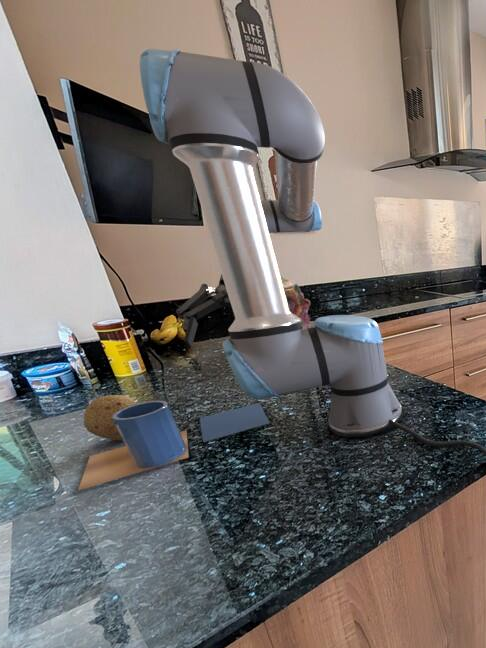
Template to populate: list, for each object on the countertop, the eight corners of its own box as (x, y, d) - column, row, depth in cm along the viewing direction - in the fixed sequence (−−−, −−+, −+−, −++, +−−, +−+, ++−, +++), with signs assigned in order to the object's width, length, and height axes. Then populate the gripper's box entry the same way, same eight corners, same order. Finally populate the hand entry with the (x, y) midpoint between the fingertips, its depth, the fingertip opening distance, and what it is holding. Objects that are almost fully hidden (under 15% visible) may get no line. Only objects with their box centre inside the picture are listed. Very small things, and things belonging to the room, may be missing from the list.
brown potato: (81, 452, 78) (57, 407, 74) (119, 430, 86) (98, 388, 82) (129, 449, 79) (107, 404, 75) (162, 427, 87) (144, 386, 83)
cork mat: (189, 458, 75) (188, 457, 74) (78, 492, 66) (77, 490, 66) (187, 431, 85) (186, 429, 85) (90, 457, 76) (89, 455, 76)
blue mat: (270, 424, 86) (269, 423, 86) (203, 443, 80) (203, 442, 79) (259, 404, 97) (259, 402, 96) (200, 419, 90) (199, 418, 90)
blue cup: (187, 457, 74) (167, 410, 71) (134, 472, 70) (110, 423, 66) (186, 441, 80) (167, 397, 76) (136, 455, 76) (114, 409, 72)
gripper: (296, 292, 107) (287, 359, 98) (184, 277, 98) (162, 350, 89) (294, 273, 101) (283, 343, 92) (173, 256, 92) (148, 332, 83)
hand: (223, 347), depth 91 cm, fingers open, 13 cm apart
